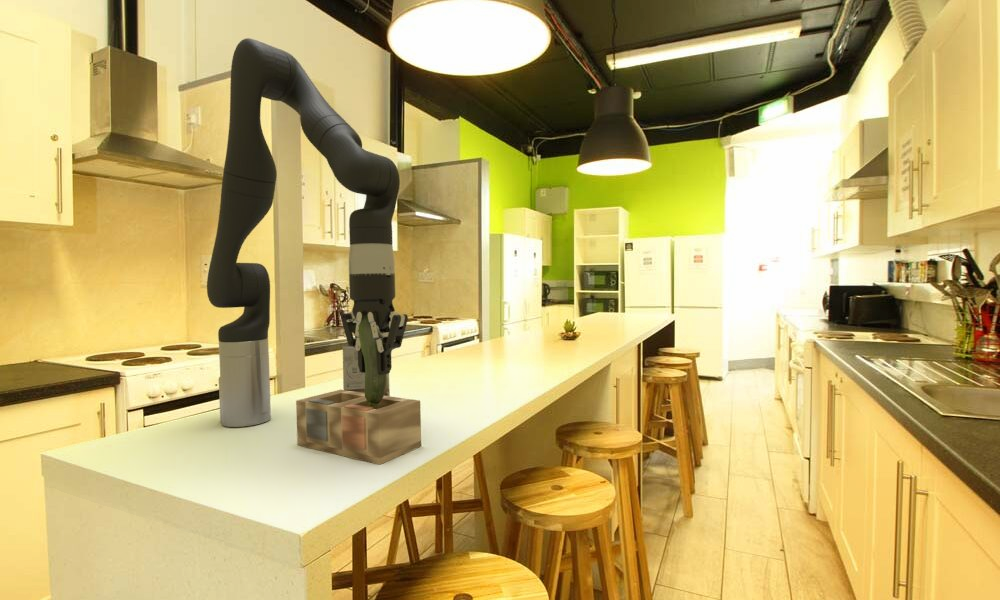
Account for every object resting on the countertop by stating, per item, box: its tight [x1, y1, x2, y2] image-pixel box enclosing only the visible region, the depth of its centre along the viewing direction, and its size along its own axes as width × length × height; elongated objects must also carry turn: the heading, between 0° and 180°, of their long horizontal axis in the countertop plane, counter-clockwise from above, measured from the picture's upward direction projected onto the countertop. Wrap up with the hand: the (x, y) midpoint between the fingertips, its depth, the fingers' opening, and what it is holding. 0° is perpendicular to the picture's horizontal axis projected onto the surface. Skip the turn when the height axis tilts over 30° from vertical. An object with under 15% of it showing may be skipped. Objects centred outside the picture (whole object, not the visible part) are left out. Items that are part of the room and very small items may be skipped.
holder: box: [295, 389, 422, 465], centre depth 88 cm, size 20×10×8 cm, turn 59°
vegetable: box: [358, 315, 387, 408], centre depth 86 cm, size 4×4×20 cm
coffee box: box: [342, 344, 391, 396], centre depth 105 cm, size 9×6×16 cm
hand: (374, 372), depth 86 cm, fingers closed on vegetable, 3 cm apart
